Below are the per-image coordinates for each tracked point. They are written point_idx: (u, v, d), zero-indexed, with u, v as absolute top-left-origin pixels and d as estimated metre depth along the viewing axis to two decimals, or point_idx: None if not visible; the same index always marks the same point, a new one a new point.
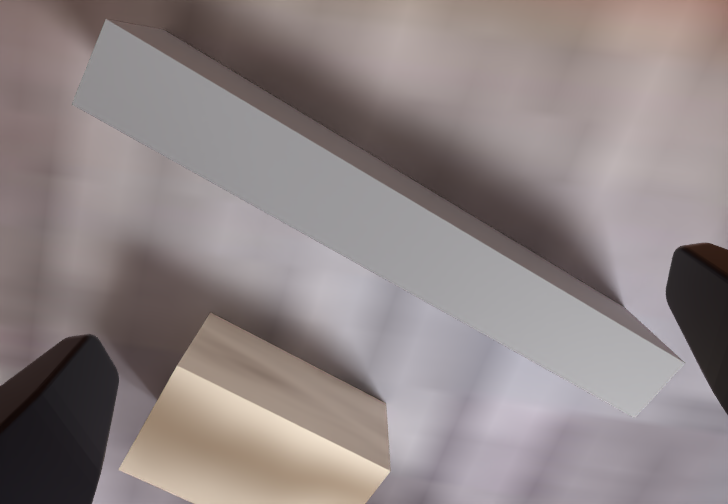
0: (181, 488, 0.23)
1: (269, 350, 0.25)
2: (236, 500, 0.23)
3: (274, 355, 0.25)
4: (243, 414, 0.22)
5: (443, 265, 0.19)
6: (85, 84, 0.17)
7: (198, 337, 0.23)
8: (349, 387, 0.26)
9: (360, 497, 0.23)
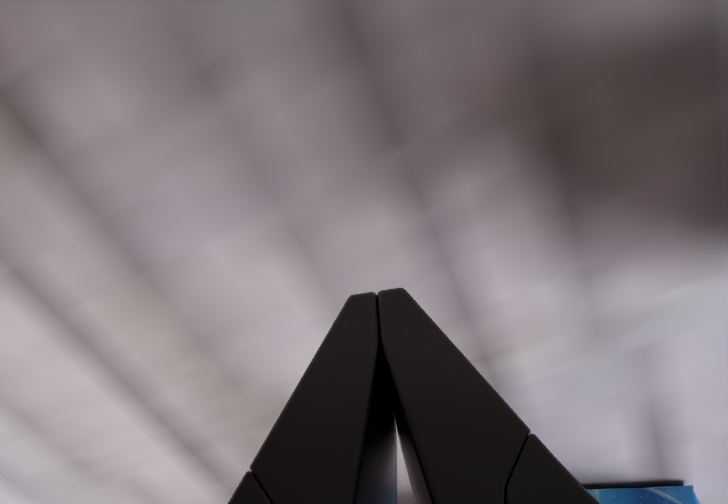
0: None
1: None
2: None
3: None
4: None
5: None
6: None
7: None
8: None
9: None
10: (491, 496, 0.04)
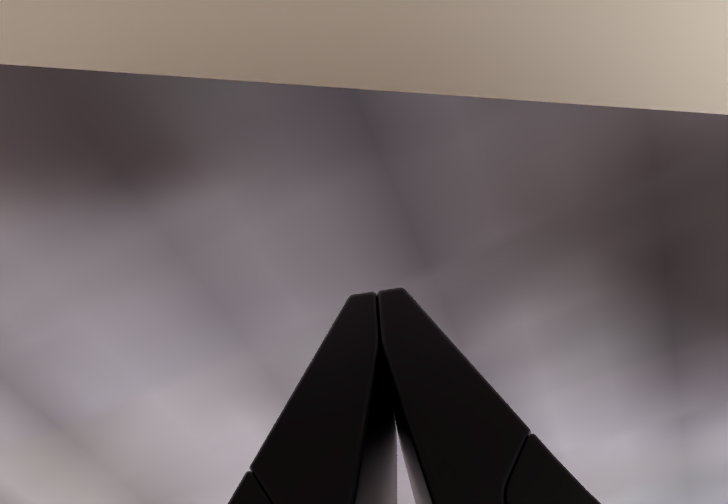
0: None
1: None
2: None
3: None
4: None
5: None
6: None
7: None
8: None
9: None
10: (491, 496, 0.04)
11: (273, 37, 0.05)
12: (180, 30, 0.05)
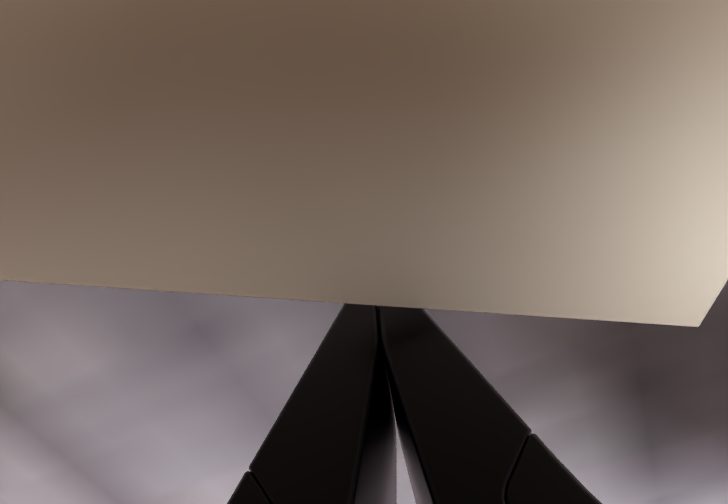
0: (131, 256, 0.06)
1: None
2: (339, 223, 0.06)
3: None
4: None
5: None
6: None
7: None
8: None
9: None
10: (492, 496, 0.04)
11: (342, 276, 0.06)
12: (274, 271, 0.06)
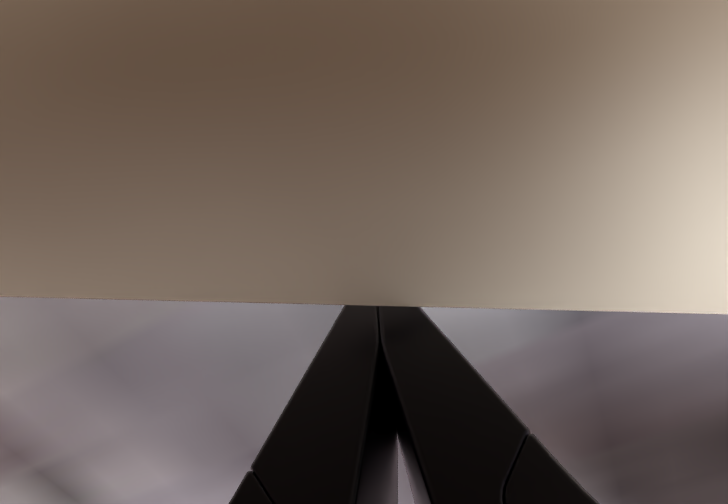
0: (178, 269, 0.06)
1: None
2: (377, 228, 0.06)
3: None
4: None
5: None
6: None
7: None
8: None
9: None
10: (490, 496, 0.04)
11: (382, 280, 0.07)
12: (315, 278, 0.06)
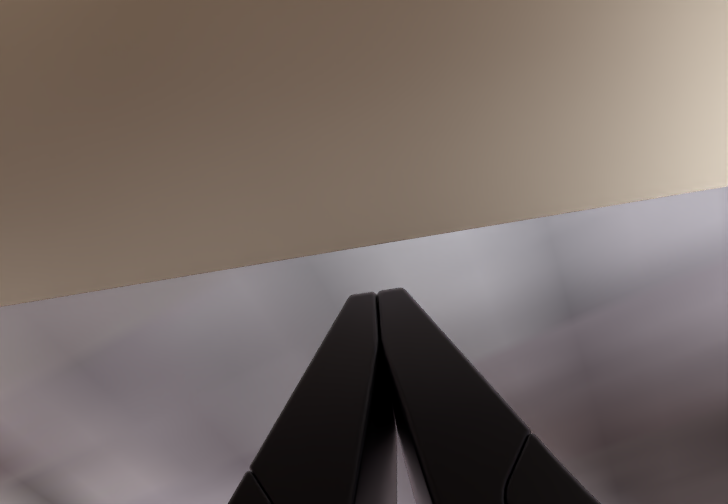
0: (206, 234, 0.06)
1: None
2: (419, 138, 0.05)
3: None
4: None
5: None
6: None
7: None
8: None
9: None
10: (491, 496, 0.04)
11: (436, 201, 0.06)
12: (359, 214, 0.06)
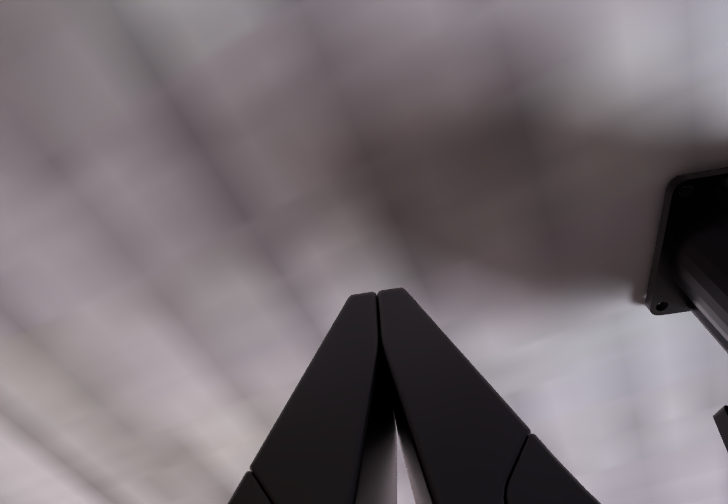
0: None
1: None
2: None
3: None
4: None
5: None
6: None
7: None
8: None
9: None
10: (491, 496, 0.04)
11: None
12: None
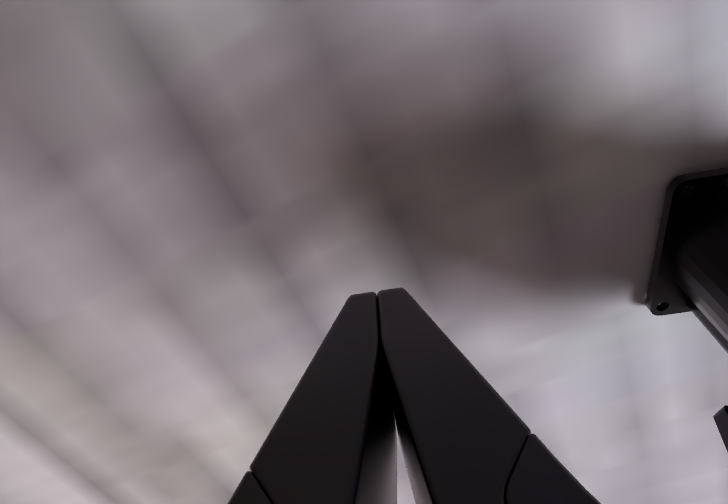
0: None
1: None
2: None
3: None
4: None
5: None
6: None
7: None
8: None
9: None
10: (491, 496, 0.04)
11: None
12: None
